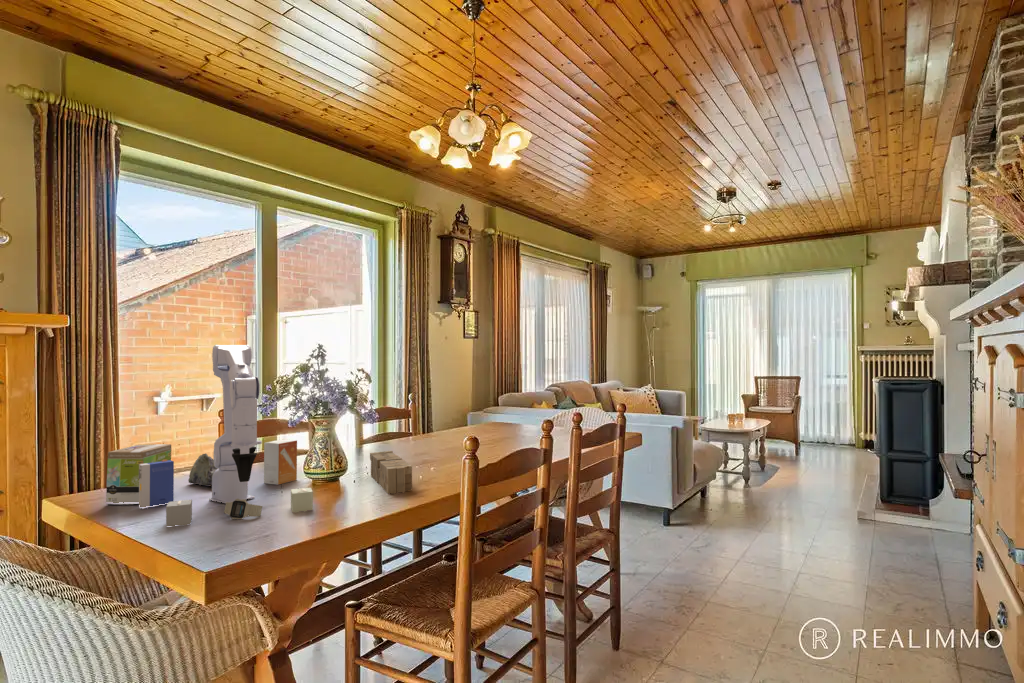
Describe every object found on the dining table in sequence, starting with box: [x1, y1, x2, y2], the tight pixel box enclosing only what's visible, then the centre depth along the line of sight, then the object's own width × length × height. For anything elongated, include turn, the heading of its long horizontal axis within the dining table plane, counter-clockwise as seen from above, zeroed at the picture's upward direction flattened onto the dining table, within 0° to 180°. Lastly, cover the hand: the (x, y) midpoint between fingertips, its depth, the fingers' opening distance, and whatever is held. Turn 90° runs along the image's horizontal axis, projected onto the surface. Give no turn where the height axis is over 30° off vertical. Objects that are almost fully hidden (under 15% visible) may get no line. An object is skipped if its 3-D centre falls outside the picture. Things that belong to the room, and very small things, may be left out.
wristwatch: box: [223, 499, 263, 520], centre depth 145 cm, size 9×6×5 cm
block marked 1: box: [165, 499, 193, 527], centre depth 139 cm, size 5×5×5 cm
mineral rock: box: [187, 453, 218, 486], centre depth 179 cm, size 13×11×10 cm
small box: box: [263, 438, 298, 486], centre depth 185 cm, size 8×6×13 cm
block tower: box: [369, 450, 413, 495], centre depth 182 cm, size 8×8×29 cm
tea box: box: [105, 443, 172, 503], centre depth 164 cm, size 15×10×15 cm
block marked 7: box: [290, 487, 314, 513], centre depth 151 cm, size 5×5×5 cm
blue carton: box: [138, 459, 175, 507], centre depth 156 cm, size 8×3×12 cm, turn 139°
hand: (244, 478), depth 145 cm, fingers open, 7 cm apart
